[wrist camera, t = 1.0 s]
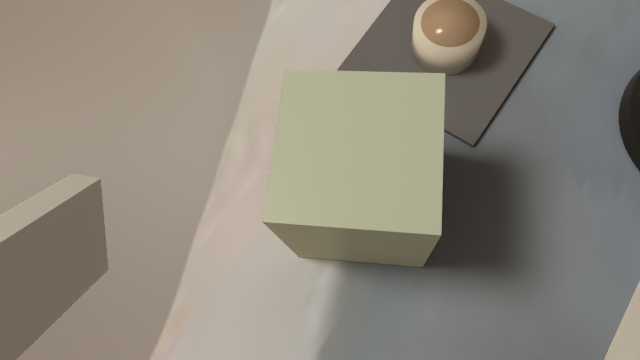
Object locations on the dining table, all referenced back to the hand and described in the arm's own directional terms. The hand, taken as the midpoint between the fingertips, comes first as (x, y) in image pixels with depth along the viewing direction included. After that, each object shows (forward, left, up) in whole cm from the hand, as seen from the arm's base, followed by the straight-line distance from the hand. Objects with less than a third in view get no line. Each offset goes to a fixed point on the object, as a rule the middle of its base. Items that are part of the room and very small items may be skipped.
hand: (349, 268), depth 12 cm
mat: (-13, -21, -26) cm, 36 cm away
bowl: (-13, -21, -26) cm, 36 cm away
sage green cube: (-2, -9, -26) cm, 28 cm away
